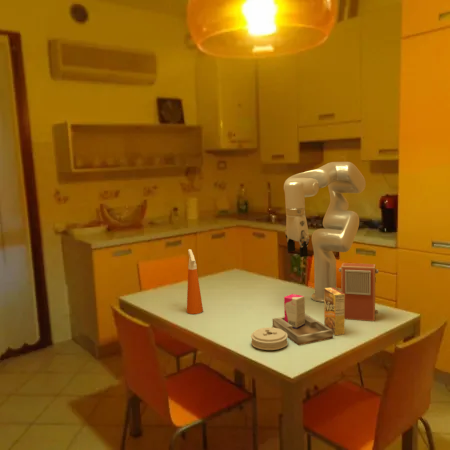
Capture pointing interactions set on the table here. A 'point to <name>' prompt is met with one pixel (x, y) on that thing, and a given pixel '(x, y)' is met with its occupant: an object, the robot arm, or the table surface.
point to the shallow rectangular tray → (304, 330)
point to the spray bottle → (193, 287)
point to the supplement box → (294, 310)
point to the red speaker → (359, 290)
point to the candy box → (334, 310)
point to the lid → (269, 338)
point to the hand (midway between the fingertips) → (297, 253)
